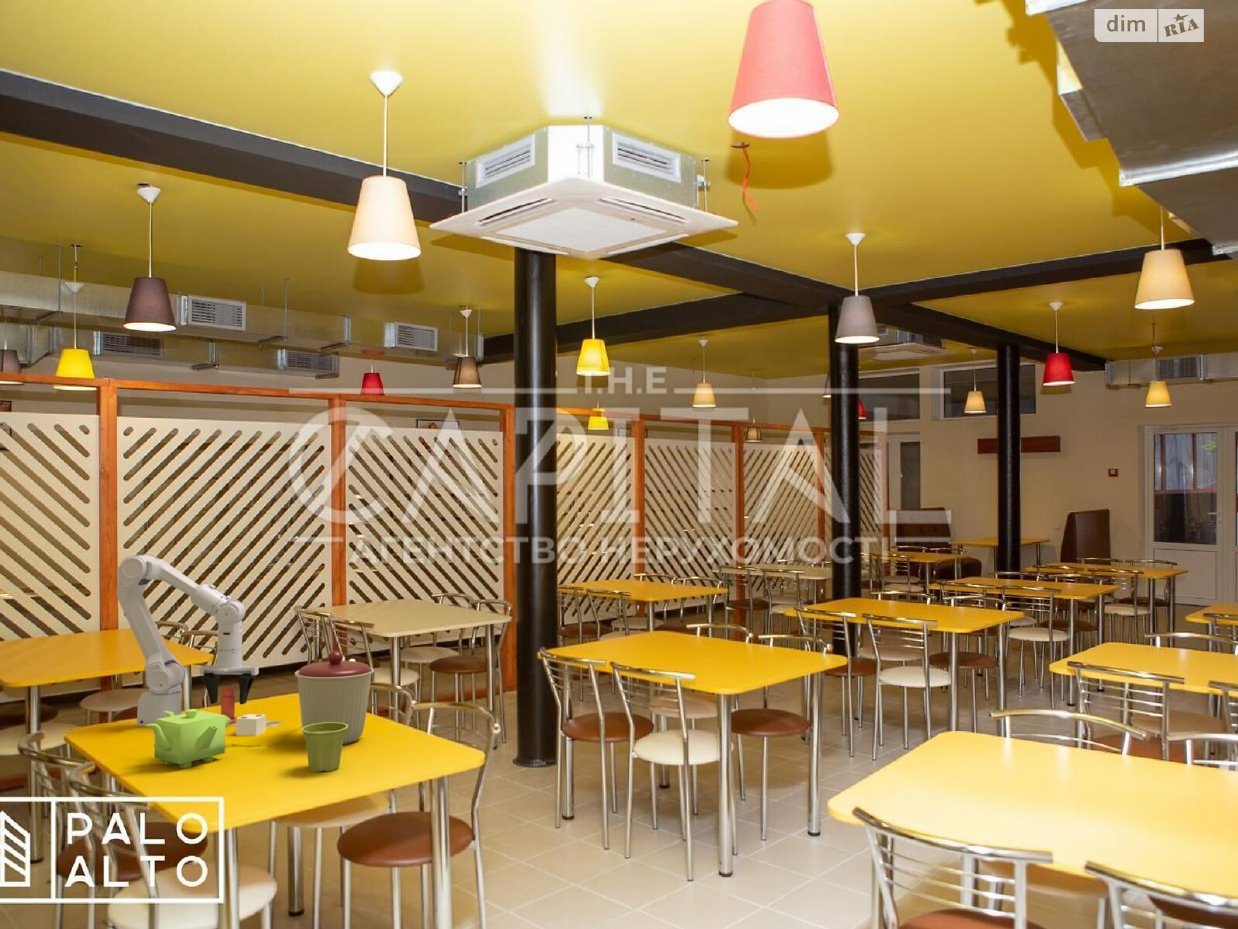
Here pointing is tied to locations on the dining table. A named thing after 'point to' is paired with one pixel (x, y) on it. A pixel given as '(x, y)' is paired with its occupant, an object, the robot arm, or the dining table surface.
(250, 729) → the die
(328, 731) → the plant pot
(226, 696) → the pawn
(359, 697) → the canister
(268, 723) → the board
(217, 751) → the kettle
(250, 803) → the dining table surface
